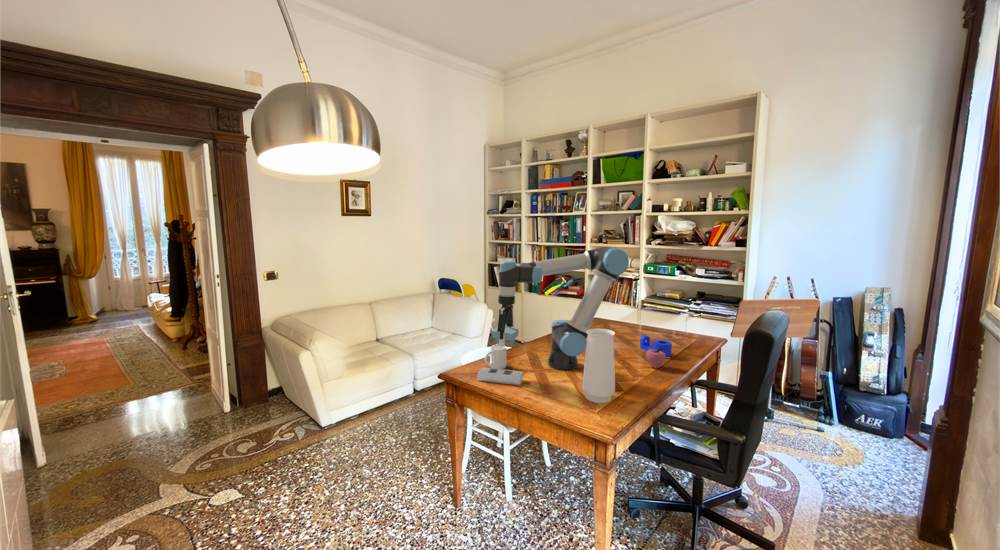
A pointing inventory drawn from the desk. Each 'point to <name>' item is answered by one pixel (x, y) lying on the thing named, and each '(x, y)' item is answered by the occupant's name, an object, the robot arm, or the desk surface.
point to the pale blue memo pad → (506, 335)
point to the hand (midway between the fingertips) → (504, 342)
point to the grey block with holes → (500, 376)
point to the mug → (497, 357)
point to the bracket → (656, 345)
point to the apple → (655, 358)
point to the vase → (599, 366)
